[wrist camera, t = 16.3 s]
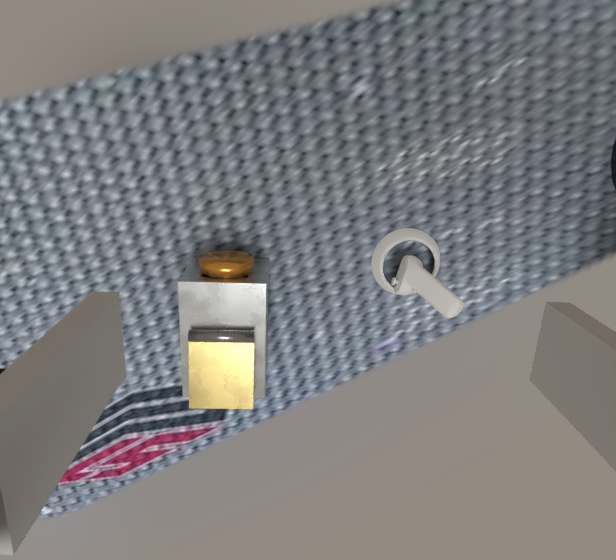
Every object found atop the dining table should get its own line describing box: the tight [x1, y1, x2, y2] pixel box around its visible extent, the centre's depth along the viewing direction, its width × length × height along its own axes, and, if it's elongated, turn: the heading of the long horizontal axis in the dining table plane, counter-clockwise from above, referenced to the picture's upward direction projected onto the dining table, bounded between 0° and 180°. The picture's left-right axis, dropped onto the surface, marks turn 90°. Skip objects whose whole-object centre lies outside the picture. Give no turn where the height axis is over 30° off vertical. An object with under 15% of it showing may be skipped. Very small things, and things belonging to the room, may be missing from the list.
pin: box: [199, 250, 253, 278], centre depth 48 cm, size 5×12×5 cm, turn 178°
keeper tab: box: [188, 329, 255, 409], centre depth 45 cm, size 6×8×1 cm
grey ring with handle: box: [371, 228, 463, 318], centre depth 50 cm, size 8×12×7 cm
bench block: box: [178, 256, 269, 398], centre depth 50 cm, size 8×12×8 cm, turn 178°
